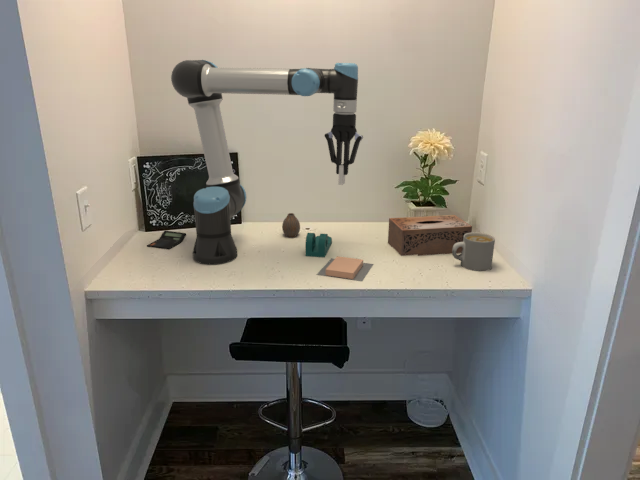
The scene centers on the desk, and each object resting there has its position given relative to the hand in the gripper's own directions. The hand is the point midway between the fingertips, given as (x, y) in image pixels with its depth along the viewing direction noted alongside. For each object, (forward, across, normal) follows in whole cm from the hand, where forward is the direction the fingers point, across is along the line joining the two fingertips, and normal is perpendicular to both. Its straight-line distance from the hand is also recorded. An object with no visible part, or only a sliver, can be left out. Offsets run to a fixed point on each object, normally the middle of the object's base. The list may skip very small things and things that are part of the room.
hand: (341, 183), depth 172 cm
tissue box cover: (+25, +30, +15) cm, 41 cm away
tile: (+23, +7, -11) cm, 27 cm away
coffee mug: (+24, +45, +3) cm, 51 cm away
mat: (+25, +7, -16) cm, 30 cm away
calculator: (+27, -63, -13) cm, 69 cm away
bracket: (+25, -7, 0) cm, 26 cm away
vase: (+25, -22, +10) cm, 35 cm away
